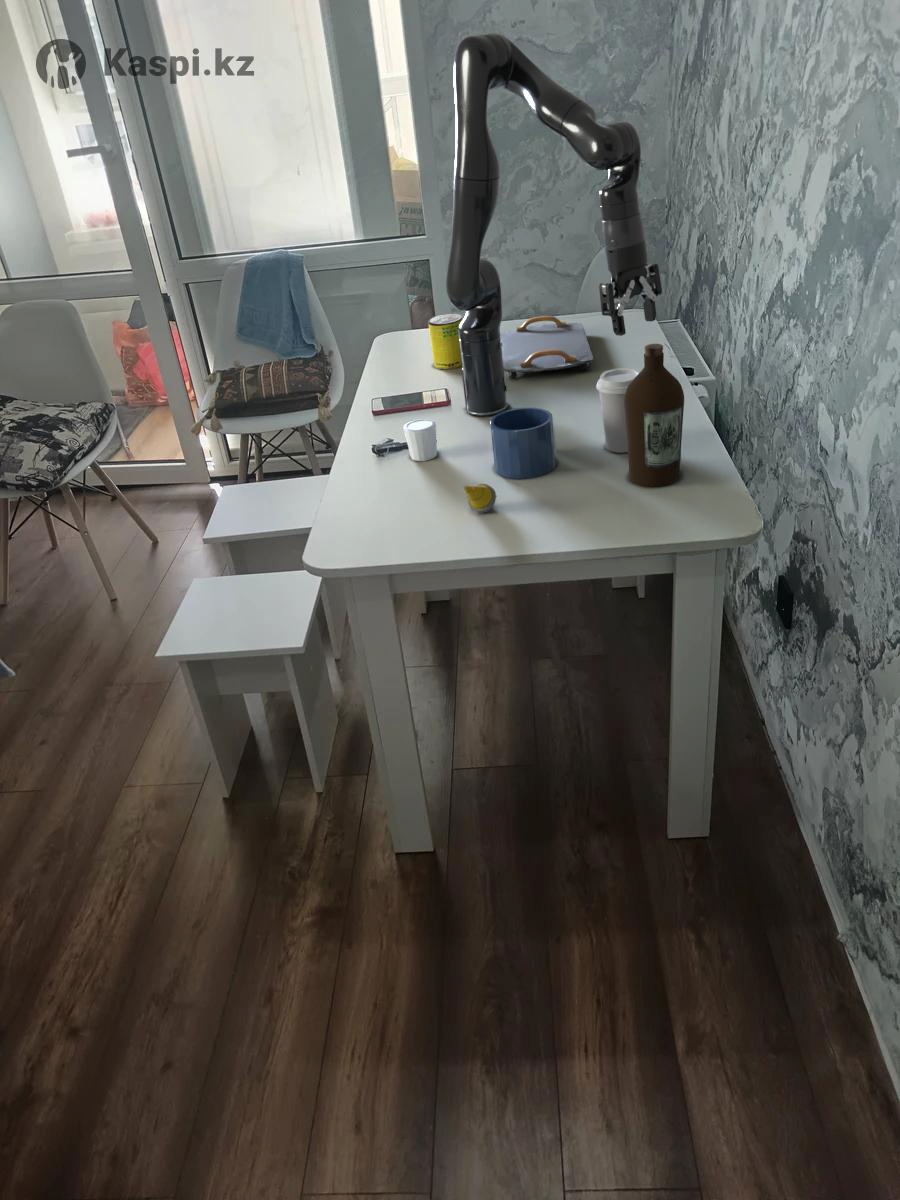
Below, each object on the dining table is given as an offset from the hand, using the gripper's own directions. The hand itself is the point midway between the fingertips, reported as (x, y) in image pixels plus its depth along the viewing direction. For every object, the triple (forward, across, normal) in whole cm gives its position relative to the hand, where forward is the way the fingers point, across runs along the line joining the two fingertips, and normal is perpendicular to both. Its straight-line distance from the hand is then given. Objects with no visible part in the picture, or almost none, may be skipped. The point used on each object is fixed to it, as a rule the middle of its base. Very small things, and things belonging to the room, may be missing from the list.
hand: (635, 327), depth 178 cm
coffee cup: (+22, +7, -1) cm, 24 cm away
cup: (+20, +26, -10) cm, 34 cm away
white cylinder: (+18, +35, -31) cm, 50 cm away
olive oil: (+24, +14, +14) cm, 31 cm away
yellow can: (+15, -6, -76) cm, 78 cm away
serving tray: (+18, -24, -58) cm, 65 cm away
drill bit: (+20, +44, -1) cm, 49 cm away
